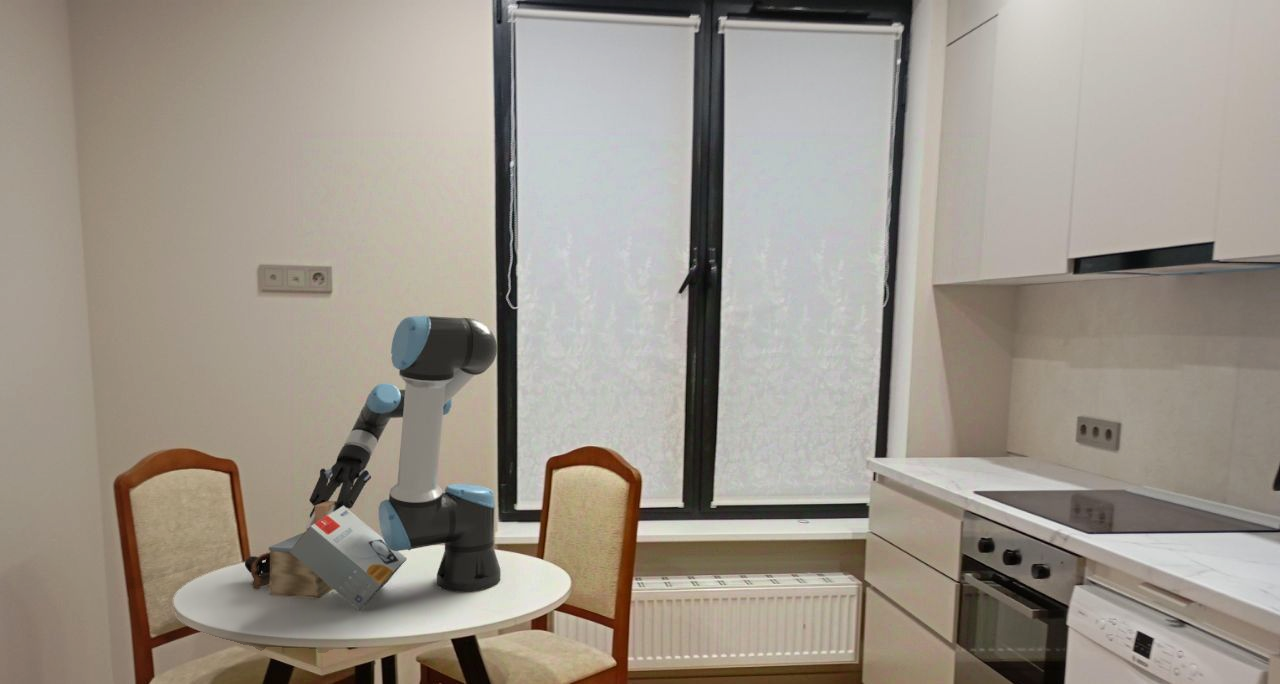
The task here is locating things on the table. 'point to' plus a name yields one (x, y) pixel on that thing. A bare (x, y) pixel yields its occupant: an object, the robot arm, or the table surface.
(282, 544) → the lid
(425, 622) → the table surface
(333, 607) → the table surface
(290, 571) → the carton
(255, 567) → the pottery mug
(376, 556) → the hard drive box
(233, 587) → the table surface
